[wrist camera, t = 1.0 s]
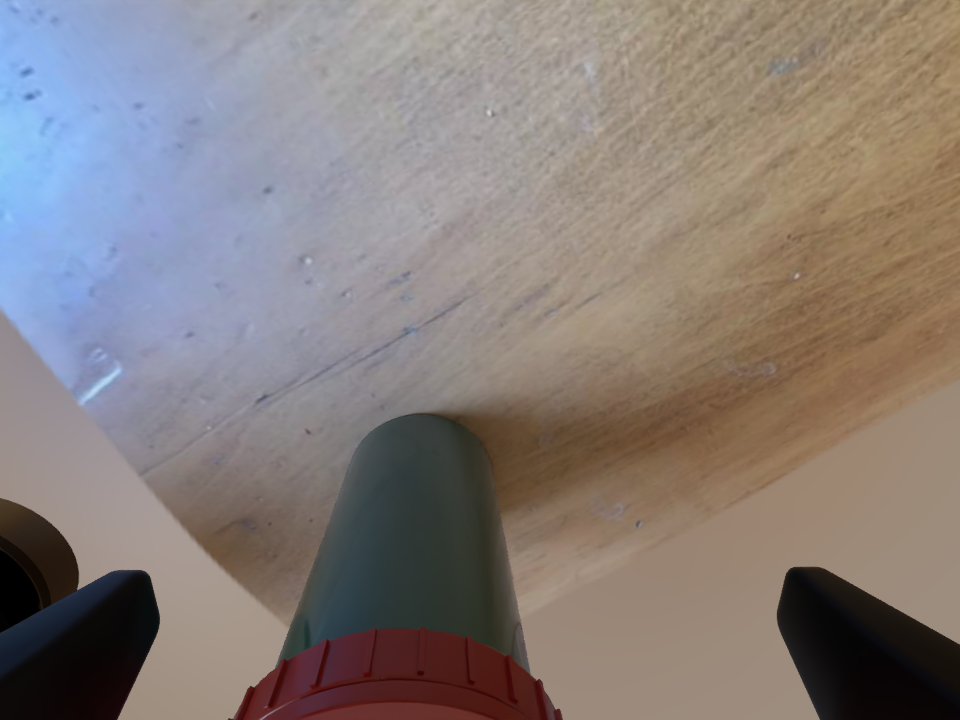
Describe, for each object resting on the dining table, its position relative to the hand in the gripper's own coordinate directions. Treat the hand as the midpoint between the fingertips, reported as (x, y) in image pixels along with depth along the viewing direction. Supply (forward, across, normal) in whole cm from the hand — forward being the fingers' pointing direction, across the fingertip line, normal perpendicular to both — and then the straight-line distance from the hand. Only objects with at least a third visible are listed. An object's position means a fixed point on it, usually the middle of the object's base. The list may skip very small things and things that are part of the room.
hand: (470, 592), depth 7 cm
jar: (+13, +2, +6) cm, 14 cm away
